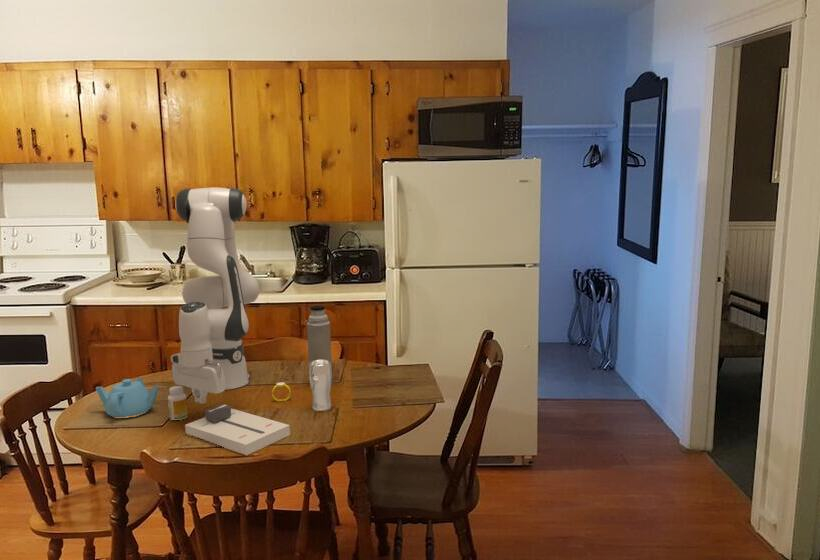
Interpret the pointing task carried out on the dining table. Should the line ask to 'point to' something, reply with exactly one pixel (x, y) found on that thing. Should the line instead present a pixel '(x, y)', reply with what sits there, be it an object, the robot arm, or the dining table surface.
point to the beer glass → (320, 384)
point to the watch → (281, 386)
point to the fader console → (239, 431)
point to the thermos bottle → (319, 336)
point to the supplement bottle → (177, 403)
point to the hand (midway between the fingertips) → (200, 402)
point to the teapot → (128, 398)
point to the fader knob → (218, 413)
